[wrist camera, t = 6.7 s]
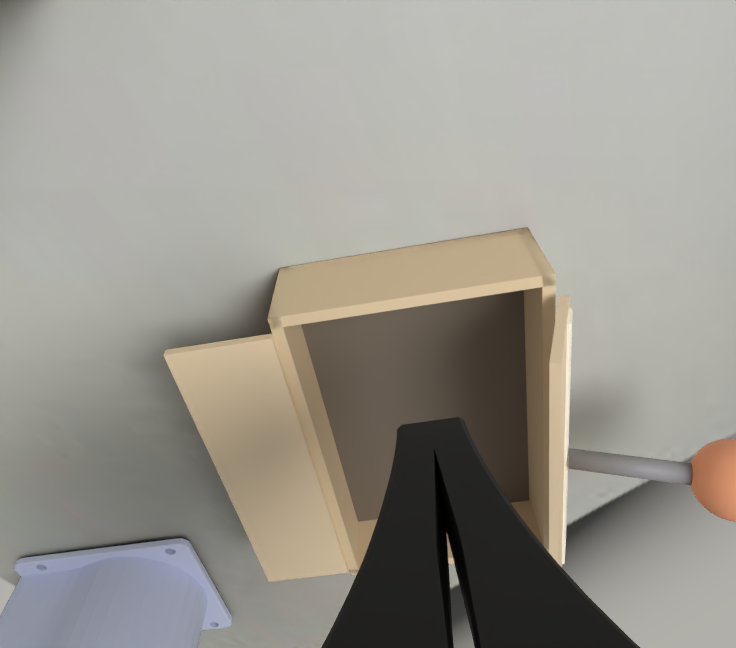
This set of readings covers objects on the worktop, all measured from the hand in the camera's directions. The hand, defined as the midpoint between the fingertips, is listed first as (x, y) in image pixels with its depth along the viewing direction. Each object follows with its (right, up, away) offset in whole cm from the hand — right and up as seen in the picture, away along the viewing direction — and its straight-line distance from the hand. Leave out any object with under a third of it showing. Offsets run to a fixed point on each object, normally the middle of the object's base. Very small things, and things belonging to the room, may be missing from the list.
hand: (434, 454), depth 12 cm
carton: (-1, 0, +12) cm, 12 cm away
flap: (+5, -2, +8) cm, 9 cm away
